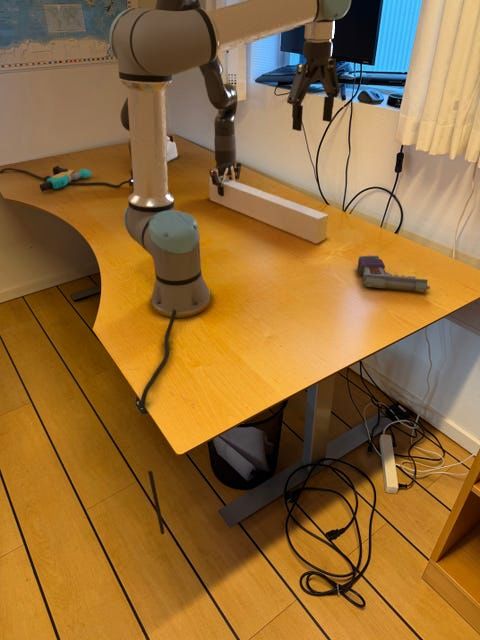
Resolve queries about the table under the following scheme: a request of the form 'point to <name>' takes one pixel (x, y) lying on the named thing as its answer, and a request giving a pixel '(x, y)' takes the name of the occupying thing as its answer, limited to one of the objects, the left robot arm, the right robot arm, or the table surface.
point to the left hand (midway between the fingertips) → (226, 193)
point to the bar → (272, 210)
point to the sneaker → (171, 148)
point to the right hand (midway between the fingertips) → (312, 125)
